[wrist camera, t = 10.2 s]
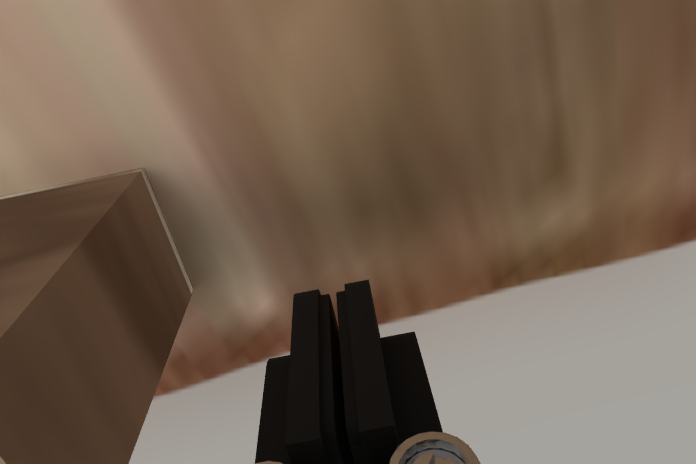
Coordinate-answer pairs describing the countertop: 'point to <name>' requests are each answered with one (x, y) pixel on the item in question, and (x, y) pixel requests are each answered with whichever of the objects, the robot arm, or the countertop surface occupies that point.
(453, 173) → the countertop surface
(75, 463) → the walnut block
